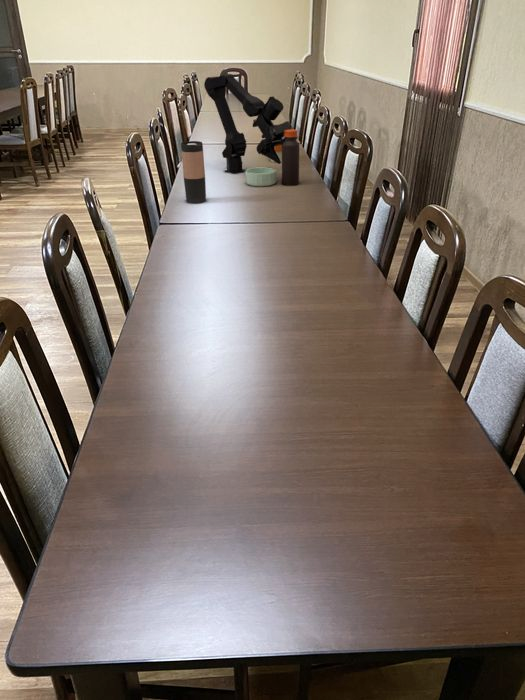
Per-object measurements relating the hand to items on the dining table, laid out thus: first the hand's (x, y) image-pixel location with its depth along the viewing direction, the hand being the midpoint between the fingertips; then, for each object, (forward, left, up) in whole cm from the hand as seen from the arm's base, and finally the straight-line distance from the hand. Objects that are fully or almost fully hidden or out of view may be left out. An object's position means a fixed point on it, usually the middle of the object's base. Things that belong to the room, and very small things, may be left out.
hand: (287, 161), depth 212 cm
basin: (-8, -7, -8) cm, 14 cm away
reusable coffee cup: (-31, +32, -9) cm, 45 cm away
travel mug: (-10, -41, -9) cm, 43 cm away
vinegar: (+2, 0, -9) cm, 9 cm away
